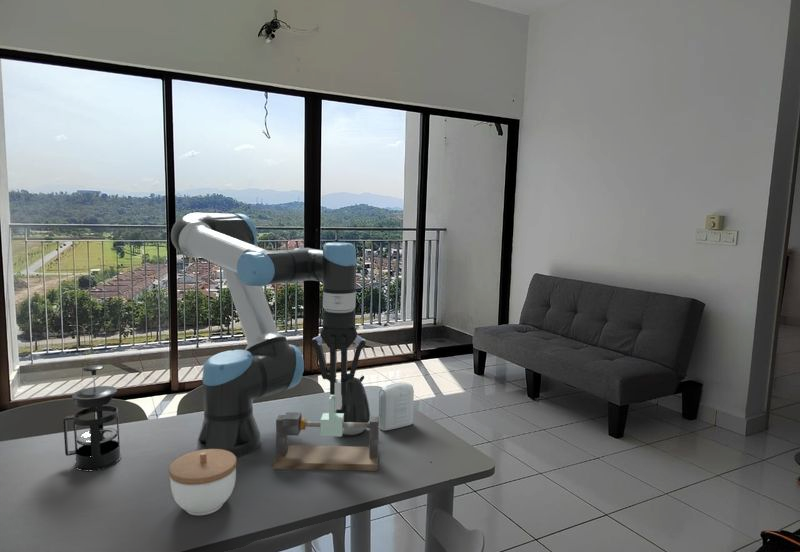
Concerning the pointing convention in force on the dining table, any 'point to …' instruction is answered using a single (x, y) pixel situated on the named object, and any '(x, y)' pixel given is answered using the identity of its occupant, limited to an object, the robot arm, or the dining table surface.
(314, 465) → the rod stand
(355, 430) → the pump dispenser
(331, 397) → the pale green block
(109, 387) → the french press
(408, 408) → the photo printer
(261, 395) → the robot arm
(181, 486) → the lidded bowl
